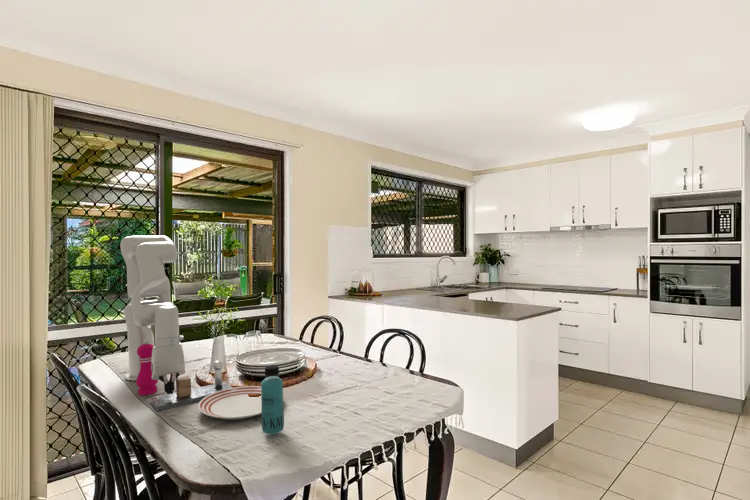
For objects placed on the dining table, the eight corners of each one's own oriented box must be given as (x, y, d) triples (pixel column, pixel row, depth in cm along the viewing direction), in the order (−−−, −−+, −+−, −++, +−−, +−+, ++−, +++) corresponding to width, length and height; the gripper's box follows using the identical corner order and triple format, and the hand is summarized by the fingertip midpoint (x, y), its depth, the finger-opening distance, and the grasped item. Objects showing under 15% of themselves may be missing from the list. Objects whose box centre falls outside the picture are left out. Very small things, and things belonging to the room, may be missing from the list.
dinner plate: (283, 390, 162) (282, 381, 161) (283, 421, 135) (283, 410, 135) (205, 397, 156) (205, 388, 156) (190, 431, 129) (189, 420, 129)
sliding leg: (176, 394, 154) (175, 378, 154) (188, 391, 156) (187, 375, 156) (179, 397, 151) (178, 380, 151) (191, 394, 153) (190, 378, 153)
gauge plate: (151, 402, 152) (149, 370, 151) (225, 385, 168) (224, 356, 167) (157, 411, 144) (155, 377, 143) (234, 392, 160) (233, 361, 159)
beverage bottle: (263, 429, 128) (261, 363, 128) (286, 428, 129) (284, 362, 128) (259, 440, 122) (257, 370, 121) (283, 438, 123) (281, 369, 122)
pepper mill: (149, 396, 158) (147, 342, 157) (132, 395, 159) (130, 342, 158) (162, 389, 165) (160, 337, 164) (146, 388, 166) (144, 337, 165)
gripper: (187, 336, 158) (189, 385, 158) (141, 343, 148) (143, 395, 149) (192, 339, 152) (194, 391, 152) (145, 347, 142) (147, 401, 143)
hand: (169, 393), depth 151 cm, fingers closed
